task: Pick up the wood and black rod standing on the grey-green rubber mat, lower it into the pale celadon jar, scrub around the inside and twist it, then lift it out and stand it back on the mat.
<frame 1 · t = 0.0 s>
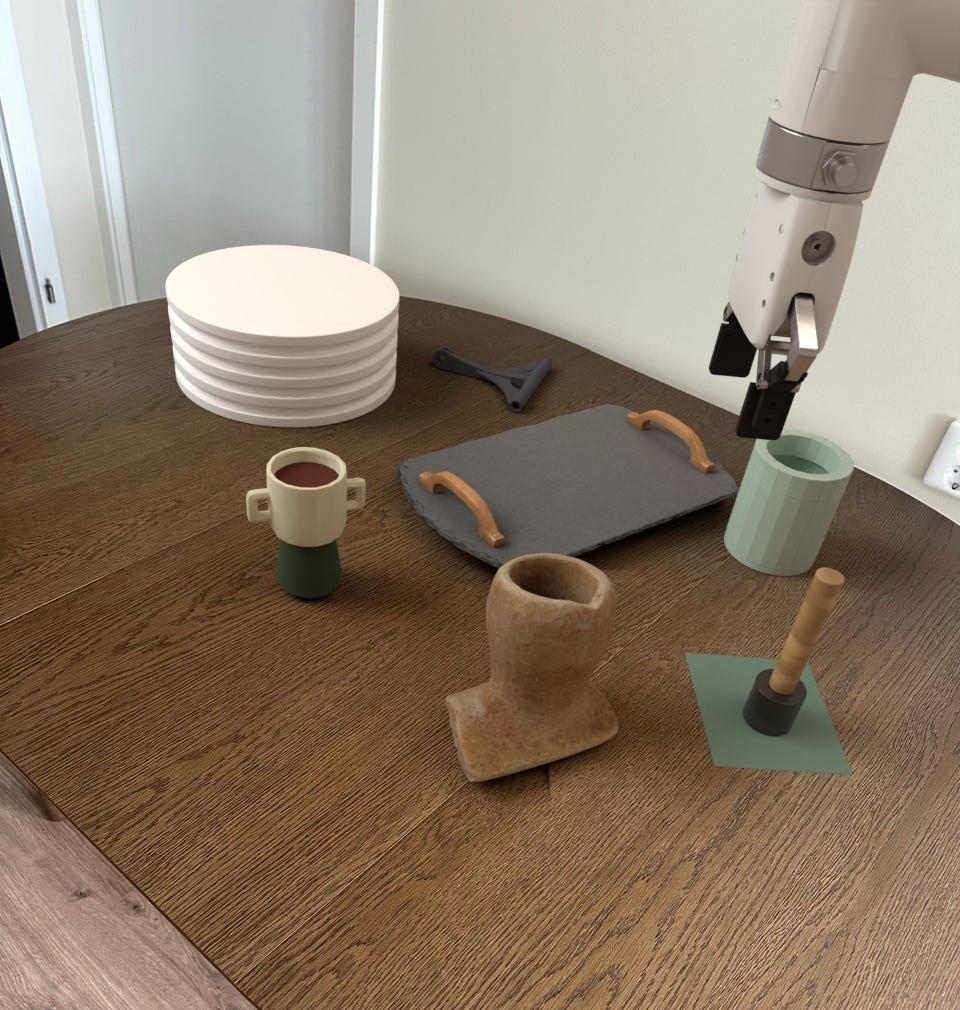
hand: (741, 404, 71), 26 cm above the table, tool pointing down, fingers open, 9 cm apart
stone cup: (520, 725, 81), on the table
jar: (768, 548, 104), on the table
character mug: (309, 584, 92), on the table
serving tray: (567, 498, 108), on the table
wood and black rod: (767, 718, 83), point 1 cm above the table, touching mat
mat: (762, 714, 84), on the table
plate stack: (288, 375, 123), on the table
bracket: (485, 379, 128), on the table
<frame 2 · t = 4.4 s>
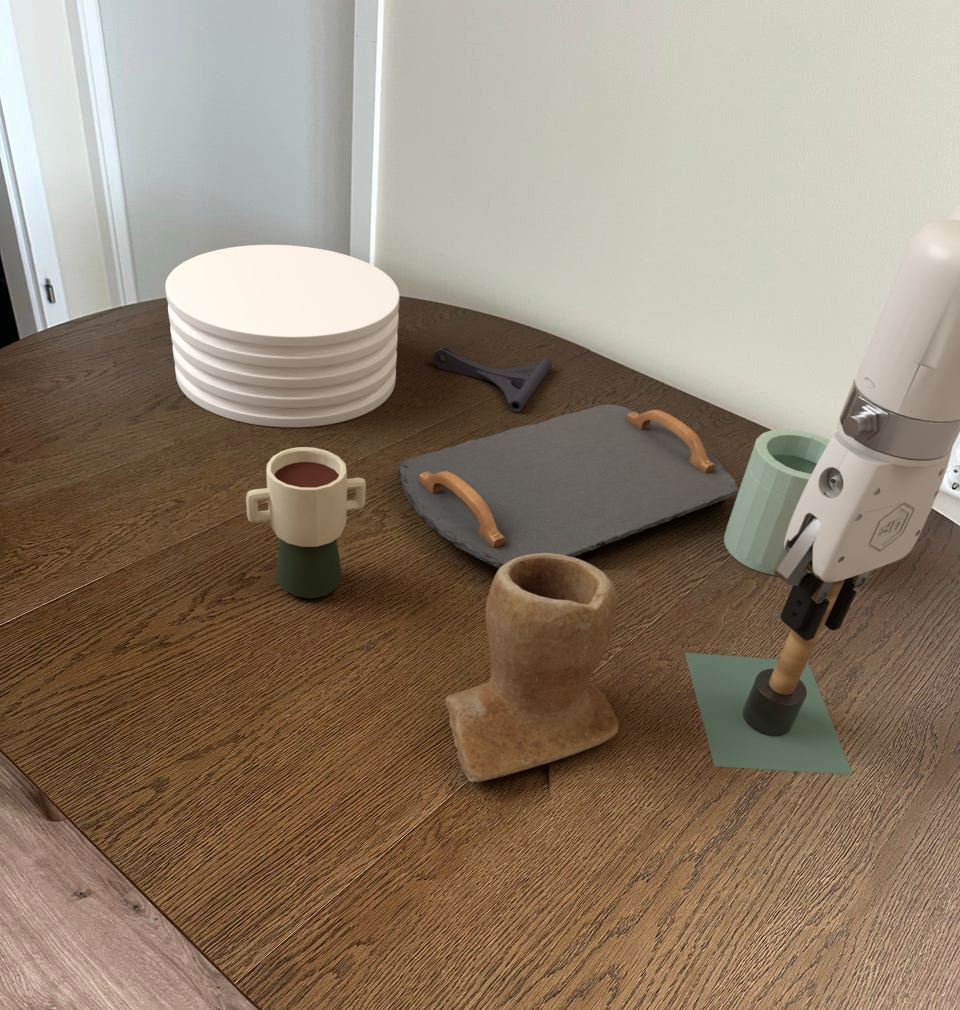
hand: (809, 623, 76), 12 cm above the table, tool pointing down, fingers closed on wood and black rod, 2 cm apart
wood and black rod: (767, 718, 83), point 1 cm above the table, touching gripper, mat
everything else where it was.
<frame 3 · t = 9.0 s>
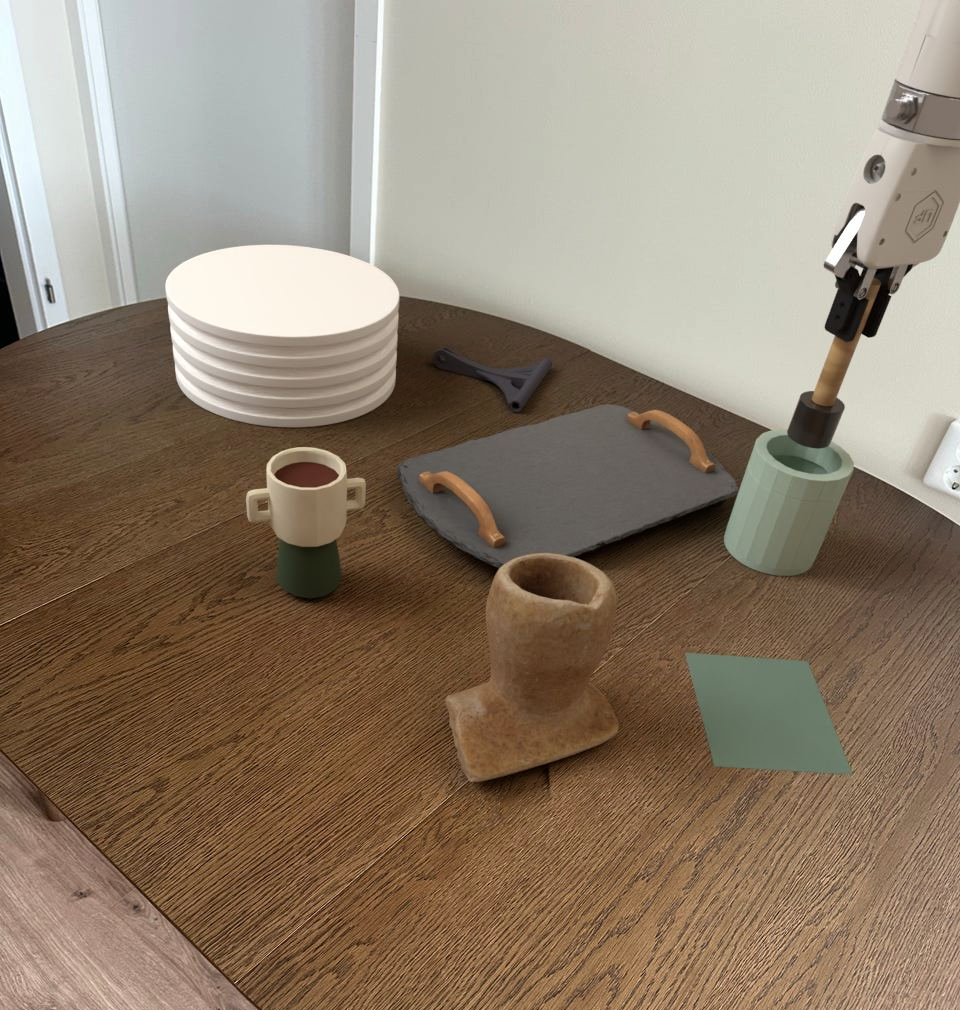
hand: (849, 332, 88), 25 cm above the table, tool pointing down, fingers closed on wood and black rod
wood and black rod: (808, 437, 95), point 14 cm above the table, touching gripper
everything else where it was.
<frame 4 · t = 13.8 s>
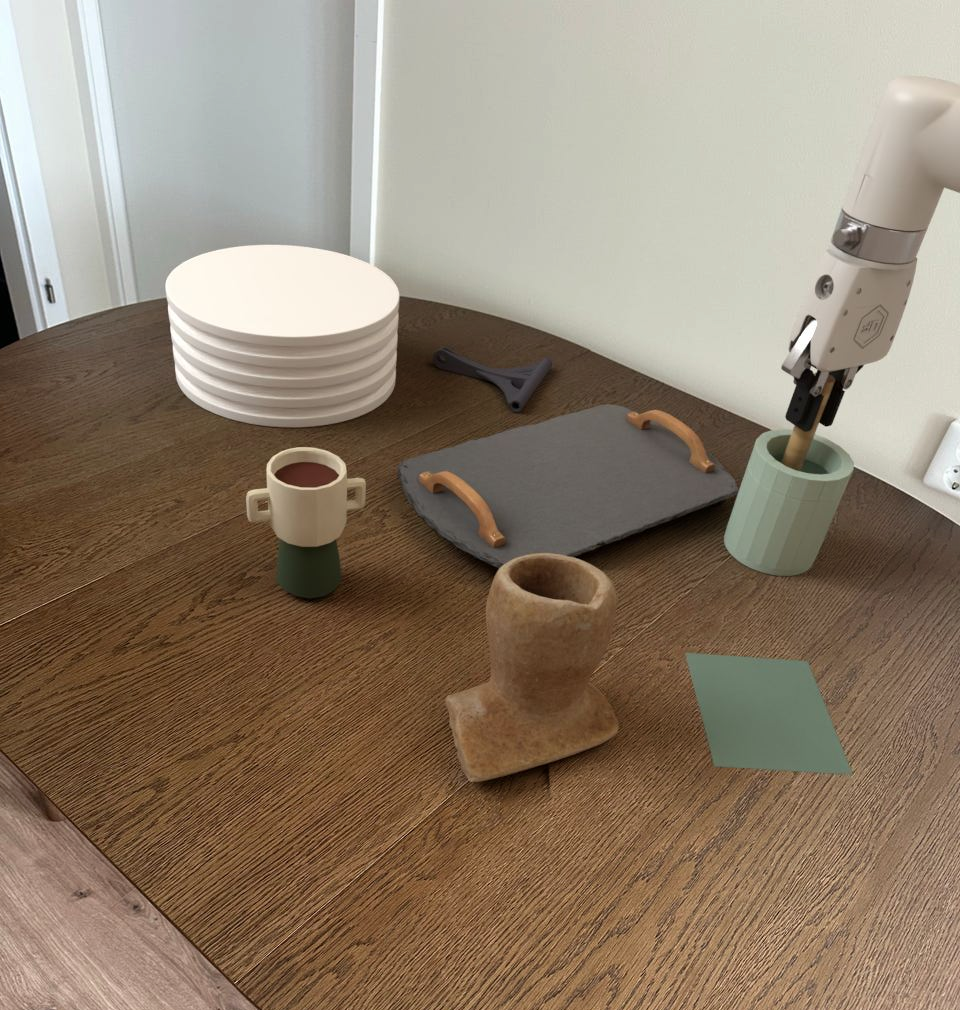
hand: (808, 421, 96), 15 cm above the table, tool pointing down, fingers closed on wood and black rod, 2 cm apart
wood and black rod: (773, 511, 104), point 3 cm above the table, touching gripper
everything else where it was.
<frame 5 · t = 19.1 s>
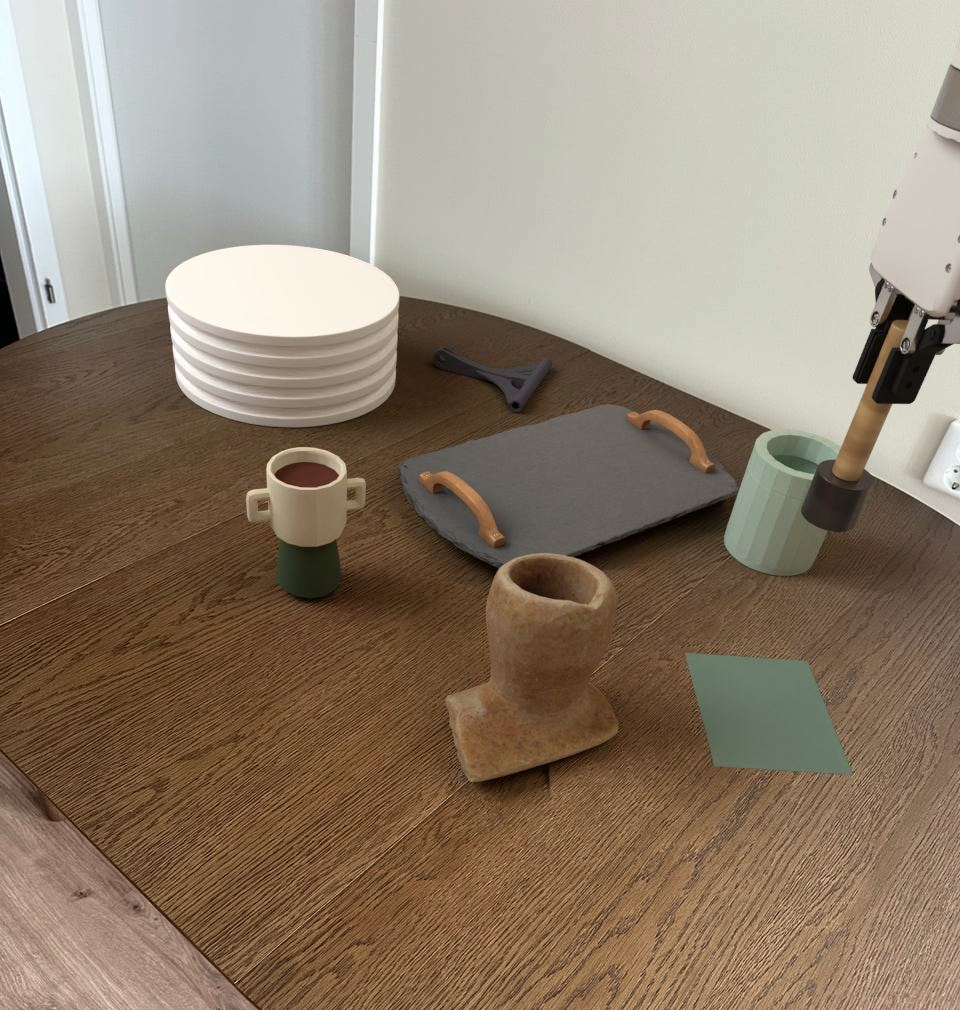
hand: (882, 390, 69), 29 cm above the table, tool pointing down, fingers closed on wood and black rod
wood and black rod: (827, 516, 76), point 18 cm above the table, touching gripper
everything else where it was.
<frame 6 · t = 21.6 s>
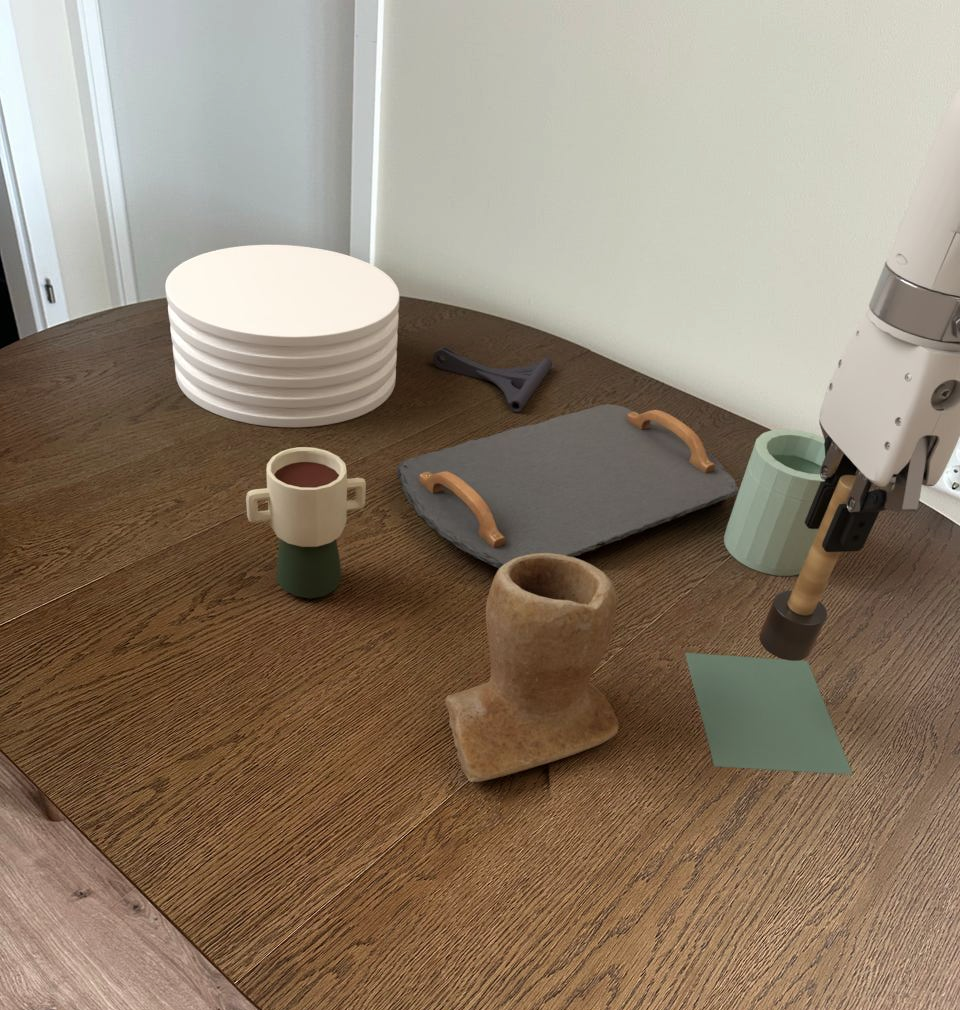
hand: (832, 536, 73), 19 cm above the table, tool pointing down, fingers closed on wood and black rod
wood and black rod: (784, 643, 80), point 8 cm above the table, touching gripper
everything else where it was.
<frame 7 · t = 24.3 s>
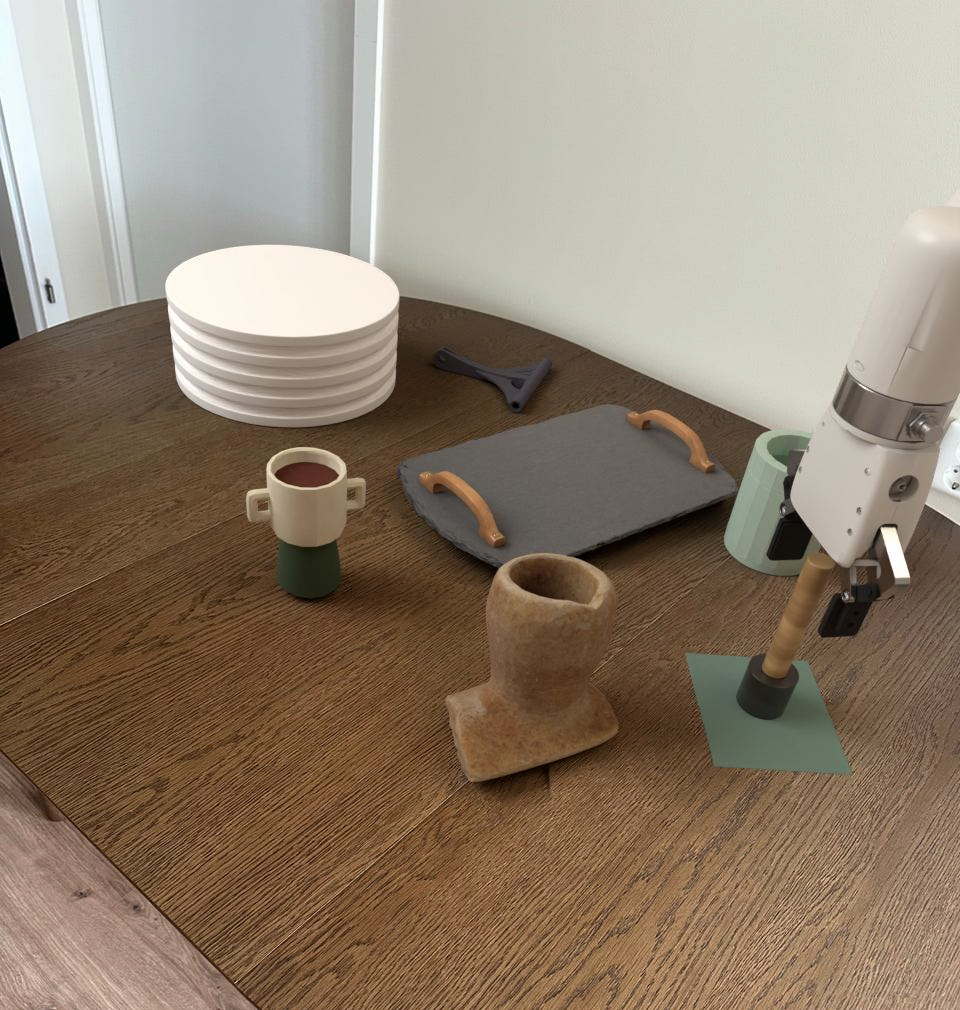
hand: (808, 594, 76), 13 cm above the table, tool pointing down, fingers open, 9 cm apart
wood and black rod: (760, 702, 85), point 1 cm above the table, touching mat
everything else where it was.
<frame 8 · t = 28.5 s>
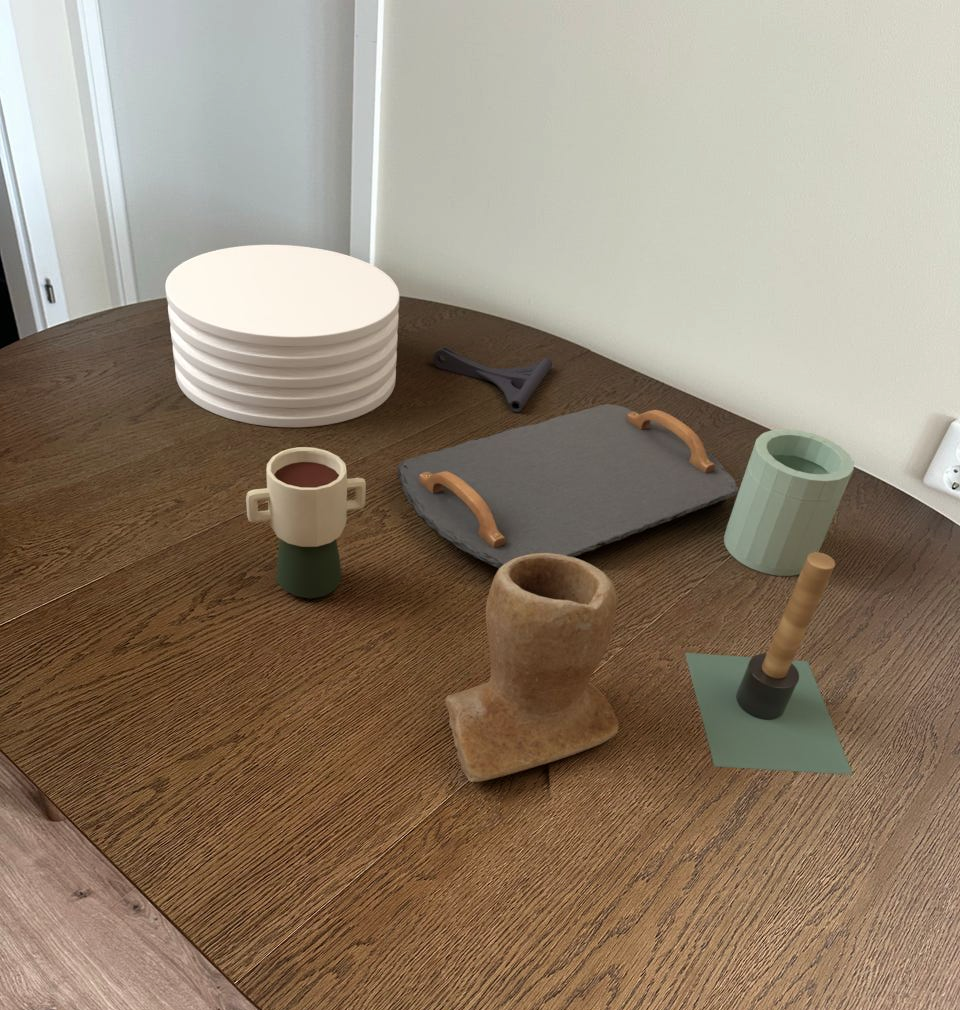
nothing on the table moved.
at the end: wood and black rod inside the target area on the mat (1.0 cm from its centre), point 0.6 cm above the mat's base; wood and black rod tilted 0°; wood and black rod touching mat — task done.
